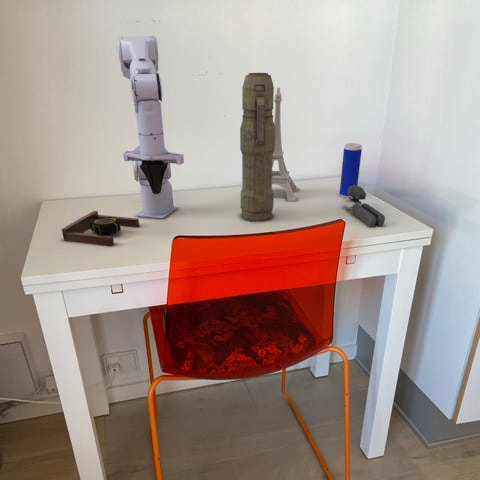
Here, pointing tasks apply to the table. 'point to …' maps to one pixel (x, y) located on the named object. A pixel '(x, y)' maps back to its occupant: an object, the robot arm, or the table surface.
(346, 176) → the beverage can
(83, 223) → the walnut frame
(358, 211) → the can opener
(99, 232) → the tape measure
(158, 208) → the robot arm
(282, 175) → the eiffel tower
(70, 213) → the table surface
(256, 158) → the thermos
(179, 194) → the table surface
